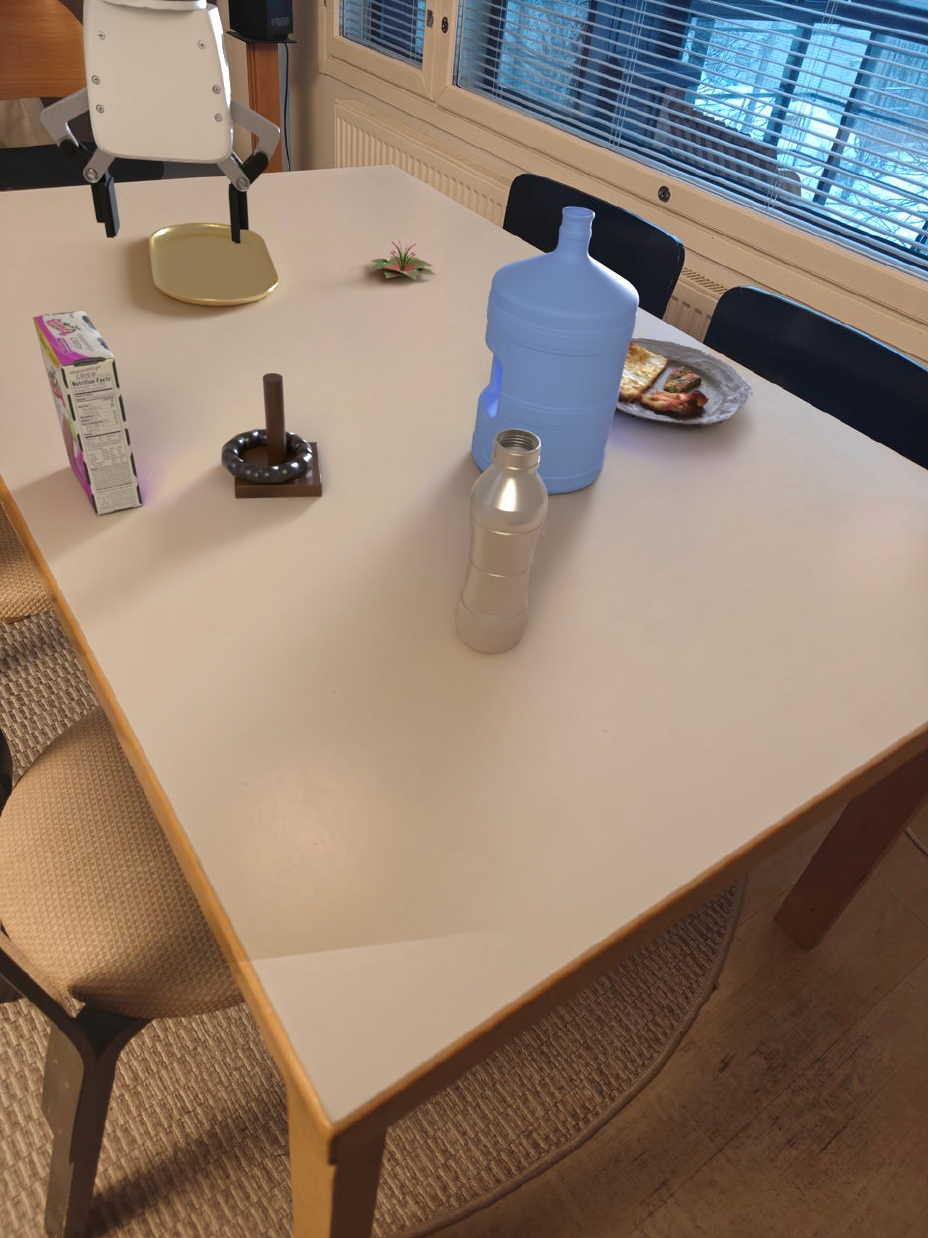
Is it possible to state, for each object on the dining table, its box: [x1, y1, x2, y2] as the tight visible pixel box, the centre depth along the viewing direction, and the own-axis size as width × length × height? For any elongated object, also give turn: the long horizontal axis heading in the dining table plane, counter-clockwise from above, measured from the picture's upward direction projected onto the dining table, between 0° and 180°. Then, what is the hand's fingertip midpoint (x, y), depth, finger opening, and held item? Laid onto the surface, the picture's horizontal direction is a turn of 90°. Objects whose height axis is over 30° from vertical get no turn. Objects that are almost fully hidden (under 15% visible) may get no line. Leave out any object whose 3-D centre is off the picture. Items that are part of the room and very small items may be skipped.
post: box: [233, 372, 323, 499], centre depth 91 cm, size 9×9×12 cm
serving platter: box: [148, 222, 280, 307], centre depth 138 cm, size 19×35×2 cm, turn 17°
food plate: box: [615, 337, 753, 429], centre depth 118 cm, size 25×23×4 cm
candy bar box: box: [32, 310, 144, 517], centre depth 85 cm, size 11×5×16 cm, turn 32°
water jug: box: [470, 206, 640, 495], centre depth 93 cm, size 16×16×28 cm
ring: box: [220, 428, 313, 484], centre depth 93 cm, size 10×10×2 cm
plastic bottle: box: [454, 429, 550, 654], centre depth 71 cm, size 6×7×20 cm
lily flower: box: [369, 240, 437, 281], centre depth 144 cm, size 12×12×5 cm
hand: (175, 235), depth 70 cm, fingers open, 9 cm apart
